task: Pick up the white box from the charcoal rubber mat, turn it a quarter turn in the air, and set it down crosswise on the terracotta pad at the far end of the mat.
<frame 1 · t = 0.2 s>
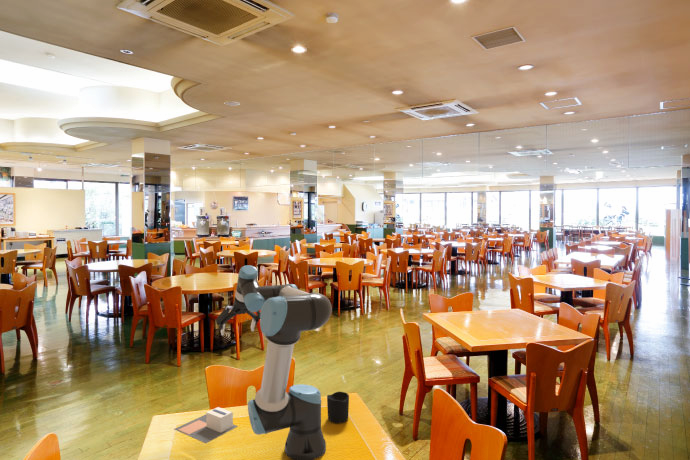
hand: (237, 331, 191), 35 cm above the table, tool tilted 35°, fingers open, 13 cm apart
pen holder: (338, 419, 180), on the table
mat: (206, 429, 172), on the table
white box: (219, 426, 173), point 1 cm above the table, touching mat
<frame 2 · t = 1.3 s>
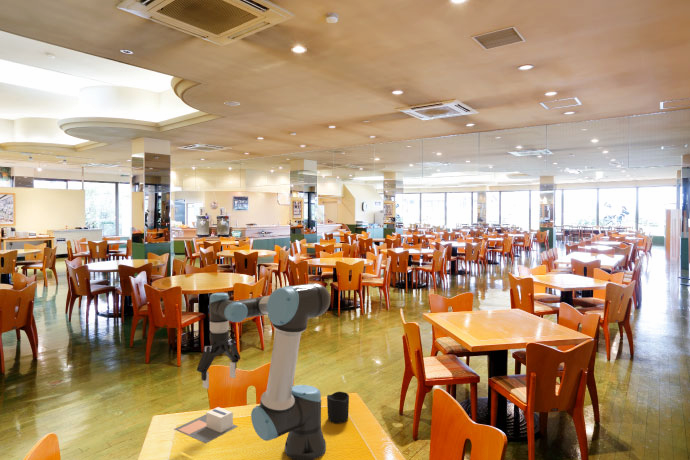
hand: (219, 382, 172), 19 cm above the table, tool pointing down, fingers open, 13 cm apart
nothing on the table moved.
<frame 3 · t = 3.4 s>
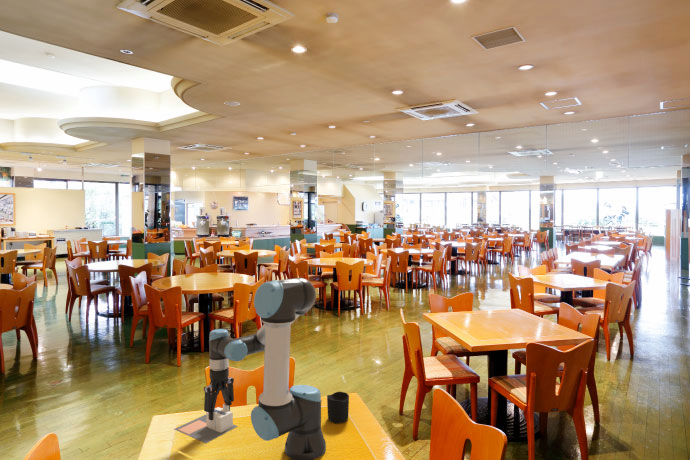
hand: (219, 423, 172), 2 cm above the table, tool pointing down, fingers closed on white box, 6 cm apart
white box: (219, 426, 173), point 1 cm above the table, touching gripper, mat
everything else where it was.
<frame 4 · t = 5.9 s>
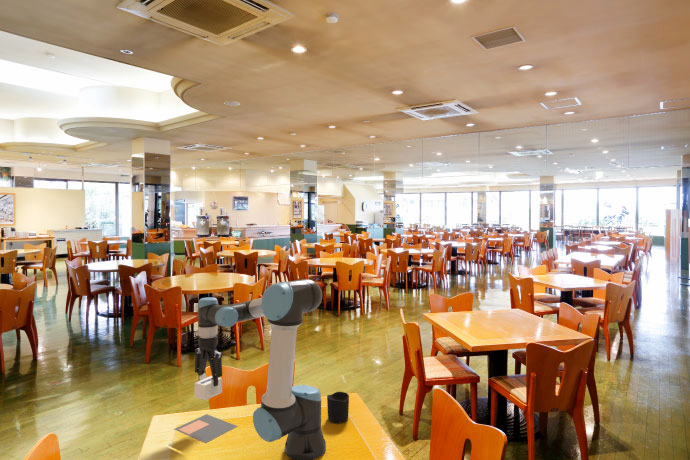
hand: (208, 391, 172), 15 cm above the table, tool pointing down, fingers closed on white box, 6 cm apart
white box: (208, 394, 172), point 14 cm above the table, touching gripper
everything else where it was.
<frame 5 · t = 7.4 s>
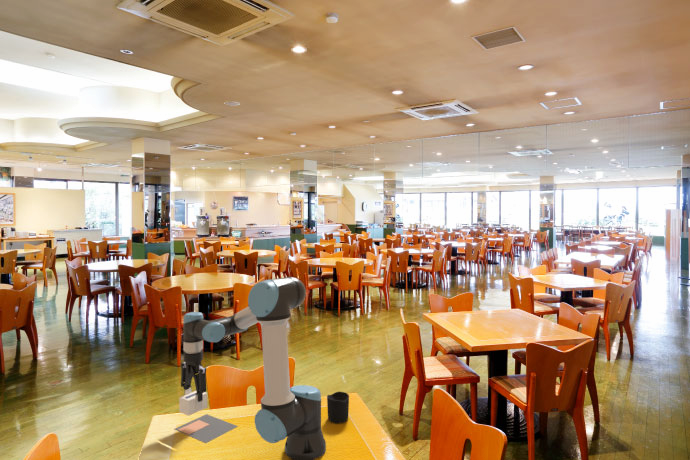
hand: (193, 406, 172), 9 cm above the table, tool pointing down, fingers closed on white box, 6 cm apart
white box: (193, 409, 172), point 8 cm above the table, touching gripper
everything else where it was.
when the fingers open (3 cm above the table, at t = 8.7 s): white box drops 1 cm, resting on mat.
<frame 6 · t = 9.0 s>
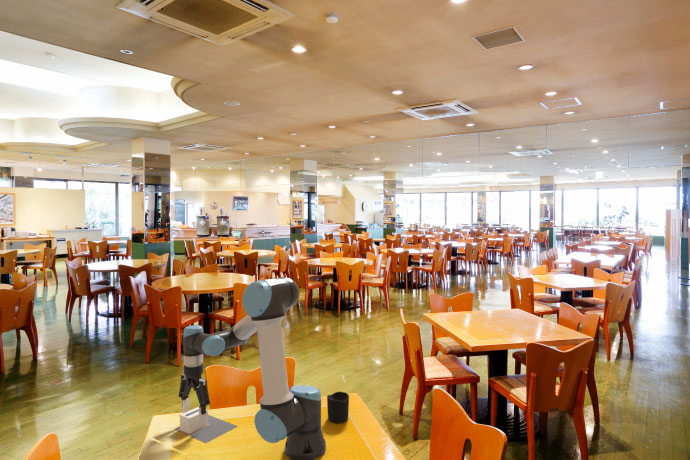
hand: (194, 418, 172), 4 cm above the table, tool pointing down, fingers open, 10 cm apart
white box: (194, 426, 172), point 1 cm above the table, touching mat
everything else where it was.
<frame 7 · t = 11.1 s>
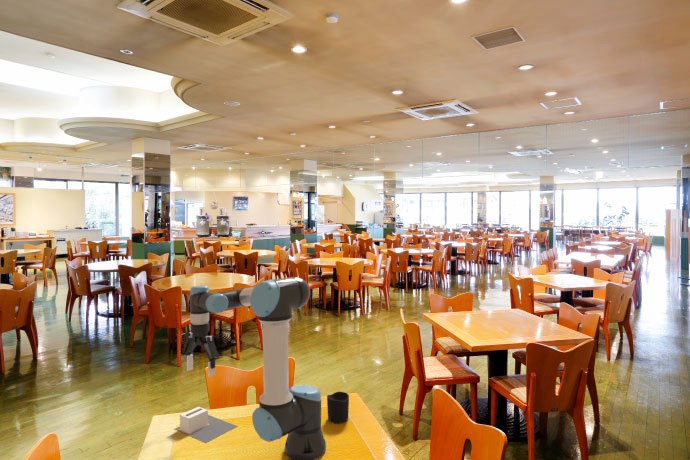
hand: (200, 373, 177), 21 cm above the table, tool pointing down, fingers open, 13 cm apart
nothing on the table moved.
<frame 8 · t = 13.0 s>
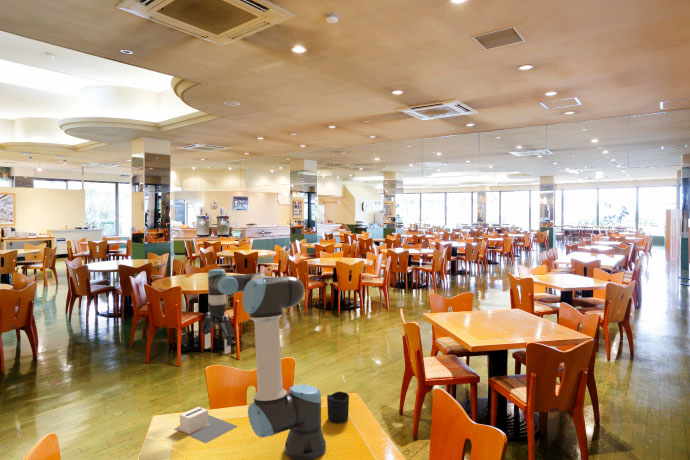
hand: (217, 350, 190), 27 cm above the table, tool pointing down, fingers open, 13 cm apart
nothing on the table moved.
at the end: white box 0.0 cm from the target spot, point 0.7 cm above the table; white box tilted 0°; the gripper is holding nothing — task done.
